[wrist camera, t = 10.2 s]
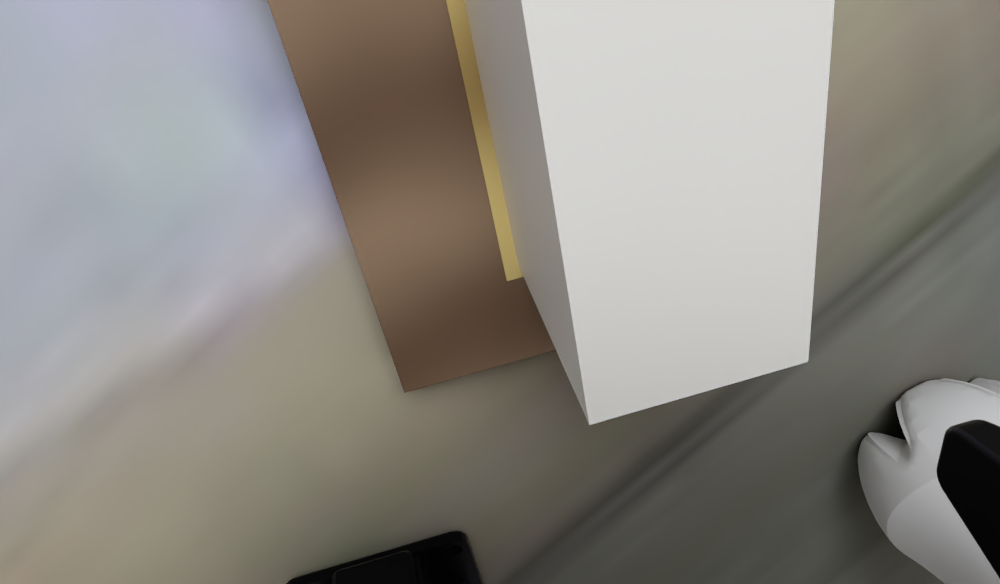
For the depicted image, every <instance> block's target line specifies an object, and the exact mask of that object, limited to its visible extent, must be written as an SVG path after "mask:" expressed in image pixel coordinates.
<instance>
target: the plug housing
mask: <svg viewBox="0 0 1000 584" xmlns="http://www.w3.org/2000/svg"><path fill="white" fill-rule="evenodd" d="M464 1H465V6H466V11H467V16H468V21H469V26H470V31H471V36H472V41H473V46H474V50H475V55H476V60H477V65H478V70H479V75H480V80H481V85H482V90H483V95H484V100H485V105H486V110H487V115H488V120H489V125H490V130H491V135H492V139H493V144H494V149H495V154H496V159H497V164H498V169H499V174H500V179H501V184H502V189H503V194H504V199H505V204H506V209H507V214H508V219H509V223H510V228H511V233H512V238H513V243H514V248H515V253H516V258H517V263H518V265H519V268H520V270H521V272H522V274H523V277H524V279H525V281H526V284H527V286H528V288H529V290H530V293H531V295H532V297H533V299H534V302H535V304H536V306H537V308H538V311H539V313H540V315H541V317H542V320H543V322H544V324H545V326H546V329H547V331H548V333H549V335H550V338H551V340H552V342H553V344H554V347H555V349H556V351H557V353H558V356H559V358H560V360H561V363H562V365H563V367H564V369H565V372H566V374H567V376H568V378H569V381H570V383H571V385H572V387H573V390H574V392H575V394H576V396H577V399H578V401H579V403H580V405H581V408H582V410H583V412H584V414H585V417H586V419H587V421H588V423H589V425H591V424H595V423H598V422H602V421H605V420H609V419H612V418H616V417H619V416H623V415H626V414H629V413H633V412H636V411H640V410H643V409H647V408H650V407H654V406H657V405H661V404H664V403H667V402H671V401H674V400H678V399H681V398H685V397H688V396H692V395H695V394H699V393H702V392H705V391H709V390H712V389H716V388H719V387H723V386H726V385H730V384H733V383H736V382H740V381H743V380H747V379H750V378H754V377H757V376H761V375H764V374H768V373H771V372H774V371H778V370H781V369H785V368H788V367H792V366H795V365H799V364H802V363H806V362H808V358H809V344H810V330H811V317H812V303H813V289H814V276H815V262H816V248H817V234H818V221H819V207H820V193H821V180H822V166H823V152H824V138H825V125H826V111H827V97H828V83H829V70H830V56H831V42H832V29H833V15H834V1H835V0H464Z"/></svg>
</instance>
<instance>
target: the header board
mask: <svg viewBox="0 0 1000 584" xmlns="http://www.w3.org/2000/svg"><path fill="white" fill-rule="evenodd" d="M268 3H269V6H270V9H271V12H272V15H273V17H274V20H275V23H276V26H277V29H278V32H279V35H280V37H281V40H282V43H283V46H284V49H285V52H286V55H287V58H288V60H289V63H290V66H291V69H292V72H293V75H294V78H295V80H296V83H297V86H298V89H299V92H300V95H301V98H302V100H303V103H304V106H305V109H306V112H307V115H308V118H309V120H310V123H311V126H312V129H313V132H314V135H315V138H316V141H317V143H318V146H319V149H320V152H321V155H322V158H323V161H324V163H325V166H326V169H327V172H328V175H329V178H330V181H331V183H332V186H333V189H334V192H335V195H336V198H337V201H338V203H339V206H340V209H341V212H342V215H343V218H344V221H345V224H346V226H347V229H348V232H349V235H350V238H351V241H352V244H353V246H354V249H355V252H356V255H357V258H358V261H359V264H360V266H361V269H362V272H363V275H364V278H365V281H366V284H367V287H368V289H369V292H370V295H371V298H372V301H373V304H374V307H375V309H376V312H377V315H378V318H379V321H380V324H381V327H382V329H383V332H384V335H385V338H386V341H387V344H388V347H389V349H390V352H391V355H392V358H393V361H394V364H395V367H396V370H397V372H398V375H399V378H400V381H401V384H402V387H403V390H404V392H409V391H413V390H416V389H420V388H423V387H427V386H430V385H434V384H437V383H441V382H444V381H448V380H452V379H455V378H459V377H462V376H466V375H469V374H473V373H476V372H480V371H483V370H487V369H490V368H494V367H498V366H501V365H505V364H508V363H512V362H515V361H519V360H522V359H526V358H529V357H533V356H537V355H540V354H544V353H547V352H551V351H554V350H556V349H555V347H554V344H553V342H552V340H551V338H550V335H549V333H548V331H547V329H546V326H545V324H544V322H543V320H542V317H541V315H540V313H539V311H538V308H537V306H536V304H535V302H534V299H533V297H532V295H531V293H530V290H529V288H528V286H527V284H526V281H525V279H524V277H523V274H522V272H521V270H520V268H519V265H518V263H517V258H516V253H515V248H514V243H513V238H512V233H511V228H510V223H509V219H508V214H507V209H506V204H505V199H504V194H503V189H502V184H501V179H500V174H499V169H498V164H497V159H496V154H495V149H494V144H493V139H492V135H491V130H490V125H489V120H488V115H487V110H486V105H485V100H484V95H483V90H482V85H481V80H480V75H479V70H478V65H477V60H476V55H475V50H474V46H473V41H472V36H471V31H470V26H469V21H468V16H467V11H466V6H465V1H464V0H268Z"/></svg>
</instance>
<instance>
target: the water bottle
mask: <svg viewBox="0 0 1000 584" xmlns="http://www.w3.org/2000/svg"><path fill="white" fill-rule="evenodd" d="M896 410H897V415H898V418H899V422H900V425H901V428H902V430H903V433H904V435H905V438H906V440H903V439H899V438H896V437H892V436H889V435H886V434H882V433H874V432H870V433H868V434H867V436H865V438H864V439H863V440H862V441H861V444H860V448H859V453H858V469H859V476H860V481H861V485H862V488H863V491H864V494H865V497H866V500H867V503H868V505H869V507H870V509H871V511H872V513H873V515H874V517H875V519H876V521H877V522H878V524H879V526H880V527H881V529H882V530H883V532H884V533H885V535H886V536H887V537H888V539H889V540H890V541H891V542H892V544H893V545H894V546H895V547H896V548H897V549H898V550H900V551H901V552H902V553H904V554H905V555H906V556H908V557H909V558H911V559H912V560H914V561H915V562H917V563H918V564H920V565H921V566H923V567H924V568H925V569H927V570H928V571H929V572H931V573H932V574H933V575H934V576H936V577H937V578H938V579H940V580H941V581H942V582H943V583H945V584H1000V578H999V577H998V575H997V574H996V572H995V571H994V569H993V568H992V566H991V564H990V563H989V561H988V560H987V558H986V557H985V555H984V554H983V552H982V550H981V549H980V547H979V546H978V544H977V543H976V541H975V539H974V538H973V536H972V535H971V533H970V532H969V530H968V529H967V527H966V525H965V524H964V522H963V521H962V519H961V518H960V516H959V515H958V513H957V511H956V510H955V508H954V507H953V505H952V504H951V502H950V501H949V499H948V497H947V496H946V494H945V493H944V491H943V490H942V488H941V486H940V484H939V481H938V478H937V471H936V469H937V464H938V460H939V455H940V451H941V447H942V443H943V439H944V435H945V432H946V430H947V429H948V428H949V427H951V426H953V425H957V424H960V423H964V422H967V421H971V420H977V419H978V420H984V421H988V422H990V423H993V424H995V425H997V426H1000V381H996V380H988V379H984V378H976V379H974V380H972V381H971V382H970V383H967V382H964V381H959V380H953V379H946V378H943V379H940V380H930V381H926V382H923V383H921V384H919V385H917V386H915V387H913V388H911V389H910V390H908V391H906V392H905V393H904V394H903V395H902V396H901V398H900V399H899V400H898V401H896Z"/></svg>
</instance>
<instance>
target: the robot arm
mask: <svg viewBox="0 0 1000 584" xmlns="http://www.w3.org/2000/svg"><path fill="white" fill-rule="evenodd" d="M936 471H937V478H938V481H939V484H940V486H941V488H942V490H943V491H944V493H945V494H946V496H947V497H948V499H949V501H950V502H951V504H952V505H953V507H954V508H955V510H956V511H957V513H958V515H959V516H960V518H961V519H962V521H963V522H964V524H965V525H966V527H967V529H968V530H969V532H970V533H971V535H972V536H973V538H974V539H975V541H976V543H977V544H978V546H979V547H980V549H981V550H982V552H983V554H984V555H985V557H986V558H987V560H988V561H989V563H990V564H991V566H992V568H993V569H994V571H995V572H996V574H997V575H998V577H999V578H1000V426H997V425H995V424H993V423H990V422H988V421H984V420H978V419H977V420H971V421H967V422H964V423H960V424H957V425H953V426H951V427H949V428H948V429H947V430H946V432H945V435H944V439H943V443H942V447H941V451H940V455H939V460H938V464H937V469H936ZM286 584H483V583H482V580H481V577H480V574H479V571H478V568H477V565H476V562H475V559H474V556H473V553H472V550H471V547H470V544H469V541H468V538H467V536H466V535H465V534H464V533H462V532H458V531H455V532H449V533H446V534H443V535H439V536H436V537H432V538H429V539H426V540H422V541H419V542H416V543H412V544H409V545H405V546H402V547H399V548H395V549H392V550H389V551H385V552H382V553H378V554H375V555H372V556H368V557H365V558H362V559H358V560H355V561H351V562H348V563H345V564H341V565H338V566H335V567H331V568H328V569H324V570H321V571H318V572H314V573H311V574H308V575H304V576H301V577H297V578H294V579H292V580H290V581H289V582H288V583H286Z"/></svg>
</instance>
